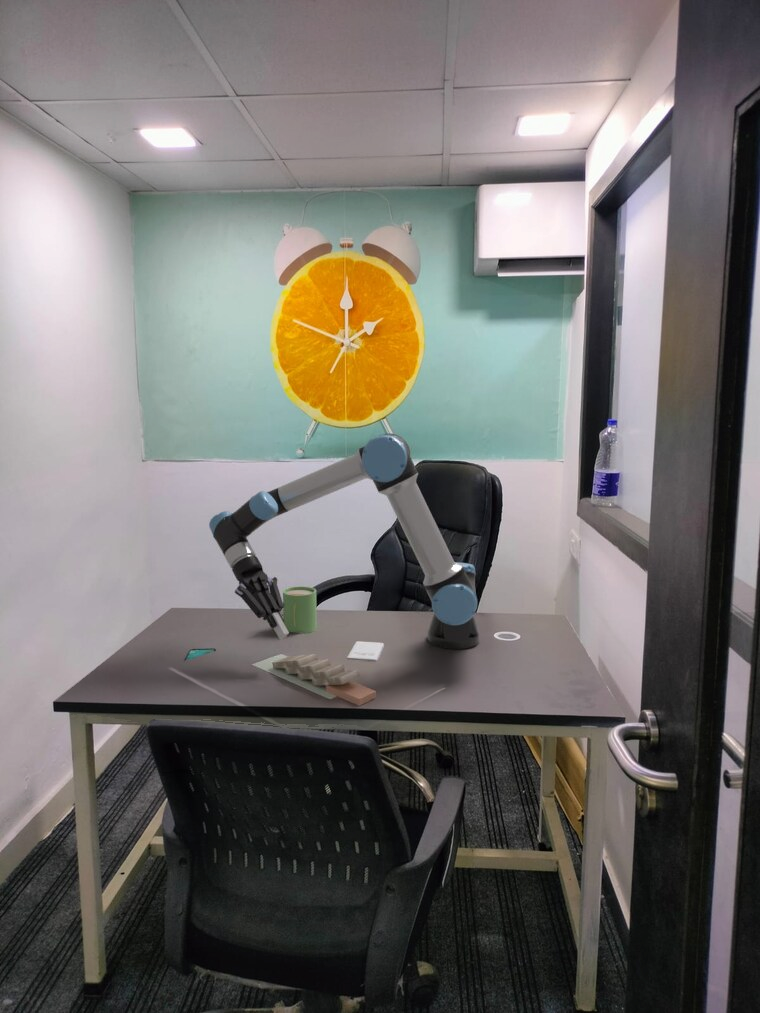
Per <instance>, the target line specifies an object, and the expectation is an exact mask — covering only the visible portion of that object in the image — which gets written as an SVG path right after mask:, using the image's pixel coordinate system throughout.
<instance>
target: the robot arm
mask: <svg viewBox="0 0 760 1013" xmlns="http://www.w3.org/2000/svg"><path fill="white" fill-rule="evenodd" d="M410 449H411V448H410V446H409V444H408V443H407V441H406V440H405V439H404V438H403V437H402V436H400V435H398V434H395V433H384V434H383V433H382V434H379V435H376V436H374V437H373V438H371V439H370V440H369V441H368V442H367V443H366V444H365V445H363V446H361V447H360V448H358V449H357V451H356V453H355V454H352V455H350V456H348V457H346V458H344V459H341V460H339V461H337V462H334V463H332V464H329V465H327V466H324V467H323V468H320V469H318V470H316V471H314V472H311V473H309V474H306V475H304V476H301V477H300V478H297V479H295V480H293V481H290V482H288V483H285V484H283V485H281V486H279V487H277V488H274V489H272V490H269V491H267V492H266V491H264V490H261V491H259V492H257V493H256V494H255V495H253V496H251V497H250V499H249V500H247V501H245V503H244V504H243V505H241V506H240V507H239V508H238V509H237V510H235V511H234V512H233V513H232V512H231V511H229V510H228V511H227V510H226V511H221V512H220V513H218V514H215V515H214V516H212V518H211V519H210V520H209V523H208V526H209V529H210V531H211V534H212V537H213V539H214V540H215V542H216V543H217V545H218V547H219V548H220V551H221V552H222V555H223V556H224V558H225V560H226V562H227V563H228V565H229V567H230V569H231V572H232V573H233V575H234V577H235V579H236V581H237V582H238V586H237V588H236V589H235V590H234V593H235V595H237V596H238V597H240V598H241V599H242V600H243V601H244V603H245V604H246V605H247V606H248V608H249V609H250V610H251V611H252V612H253V614H254V615H255V616H256V617H257V618H258V619H261V618H262V620H263V621H266V622H267V623H268V625H269V627H270V628H271V629H273V630H274V632H275V633H276V636H277V638H278V639H279V640H283V639H285V638H286V637H288V635H289V633H290V632H289V631H288V630H287V628H286V627H285V625H284V623H285V621H284V619H283V616H282V615H283V614H281V611H283V608H284V605H283V598H282V596H281V593H280V590H279V587H278V578H277V577H276V576H274V577H273V578H272V577H269V576H268V575H267V573H265V572H264V568H263V565H262V563H261V561H260V560H259V558H258V557H257V554H256V553H255V551H254V549H253V548H252V545H251V544H250V542H249V540H248V537H249V536H250V535H252V533H254V532H255V531H257V530H258V529H259V528H260V527H261V526H263V525H264V524H265V523H268V522H270V520H272V519H274V518H277V517H278V516H281V515H283V514H286V513H287V512H290V511H293V510H294V509H297V508H299V507H301V506H304V505H307V504H308V503H311V502H314V501H316V500H319V499H320V498H323V497H325V496H328V495H330V494H332V493H335V492H337V491H340V490H342V489H344V488H346V487H350V486H352V485H353V484H357V483H358V482H361V481H363V480H366V479H369V480H370V481H372V482H373V483H374V485H375V489H376V490H377V492H378V493H379V494H382V495H384V496H386V497H387V499H388V501H389V504H390V505H391V507H392V510H393V512H394V514H395V516H396V518H397V520H398V522H399V524H400V526H401V529H402V530H403V532H404V534H405V536H406V539H407V541H408V543H409V545H410V547H411V549H412V551H413V553H414V555H415V558H416V559H417V561H418V563H419V565H420V567H421V570H422V572H423V573H424V580H423V582H422V584H423V586H424V588H425V591H426V593H427V595H428V597H429V599H430V601H431V608H432V609H431V610H432V612H433V616H432V618H431V620H430V624H429V626H428V630H427V636H426V637H427V641H428V642H429V643H430V644H431V645H434V646H437V647H440V648H444V649H452V650H460V649H469V648H473V647H475V646H476V645H479V643H480V632H479V628H478V625H477V621H476V619H475V613H476V612H477V608H478V604H479V603H478V596H477V593H476V573H477V572H476V568H475V566H474V564H471V563H467V562H455V560H454V559H453V556H452V555H451V552H450V550H449V548H448V546H447V543H446V541H445V540H444V538H443V537H444V536H442V533H441V531H440V530H439V527H438V524H437V523H436V521H435V518H434V517H433V515H432V512H431V511H430V509H429V506H428V505H427V502H426V500H425V498H424V496H423V494H422V492H421V490H420V488H419V485H418V484H417V478H418V475H419V472H418V470H417V468H416V466H415V464H414V462H413V460H412V458H411V451H410Z"/></svg>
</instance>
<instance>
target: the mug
mask: <svg viewBox="0 0 760 1013" xmlns="http://www.w3.org/2000/svg"><path fill="white" fill-rule="evenodd" d="M282 602H283V605H284V608H283V609H282V614H281V615H282V617H283V619H284V621H285V623H284V625H285V627H286V628H287V630H288V632H289V633H301V634H305V633H308V634H311V633H314V632H315V631H317V629H316V628H317V622H318V620H317V589H316V588H315V587H311V586H304V585H303V586H299V585H298V586H290V587H288V588H284V589H283V590H282ZM313 631H314V632H313ZM310 632H311V633H310ZM305 635H306V634H305Z"/></svg>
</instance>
